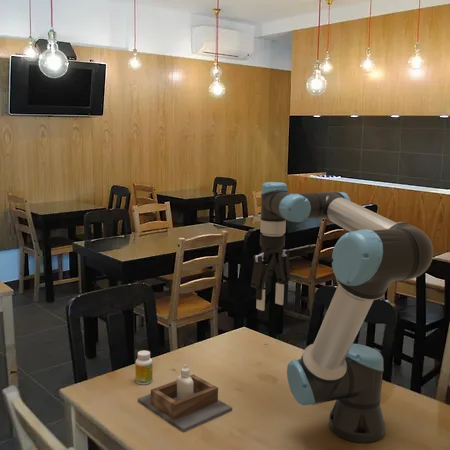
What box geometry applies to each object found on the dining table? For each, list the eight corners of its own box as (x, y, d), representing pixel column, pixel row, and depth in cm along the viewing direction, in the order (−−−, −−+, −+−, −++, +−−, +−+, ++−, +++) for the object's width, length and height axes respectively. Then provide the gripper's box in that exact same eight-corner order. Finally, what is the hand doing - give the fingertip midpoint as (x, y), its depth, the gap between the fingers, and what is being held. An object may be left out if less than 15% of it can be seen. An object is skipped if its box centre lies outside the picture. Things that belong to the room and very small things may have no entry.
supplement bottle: (147, 386, 175) (147, 357, 174) (132, 383, 177) (132, 354, 175) (155, 379, 180) (155, 350, 179) (140, 376, 182) (140, 348, 180)
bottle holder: (232, 410, 162) (232, 393, 161) (183, 432, 150) (183, 413, 149) (185, 384, 178) (185, 367, 177) (137, 401, 166) (137, 384, 165)
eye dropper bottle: (190, 398, 166) (191, 360, 164) (193, 407, 161) (194, 368, 159) (176, 399, 165) (176, 361, 163) (178, 408, 160) (179, 369, 158)
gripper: (285, 228, 176) (282, 297, 180) (239, 235, 163) (237, 310, 167) (304, 231, 171) (300, 303, 175) (257, 240, 157) (255, 317, 161)
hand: (269, 306), depth 171 cm, fingers open, 8 cm apart
